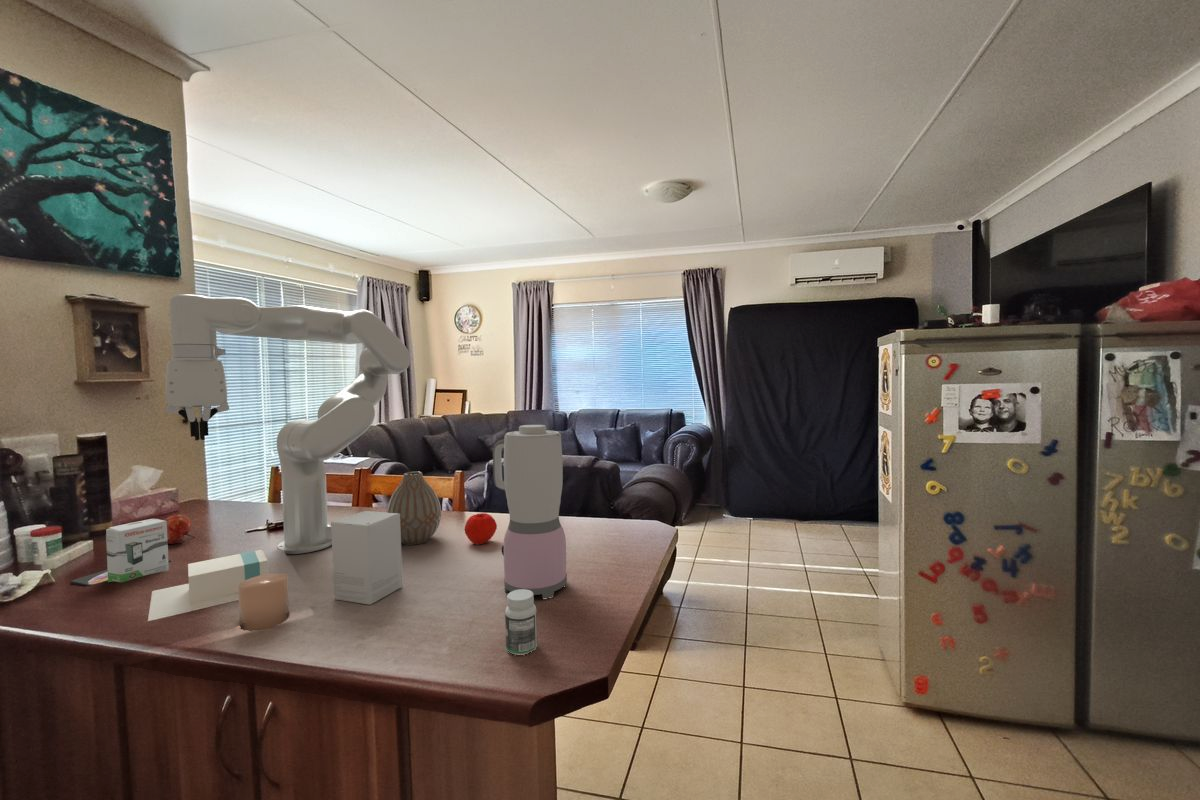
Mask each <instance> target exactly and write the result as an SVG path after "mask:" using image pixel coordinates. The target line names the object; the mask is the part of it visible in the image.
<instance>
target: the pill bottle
mask: <svg viewBox="0 0 1200 800" xmlns="http://www.w3.org/2000/svg"><path fill="white" fill-rule="evenodd" d="M534 596H535V595H534V594H533V592H532V591H530V590H526V589H519V590H514V591H512V592H511V591H509V593H507V595H506V604H507V606H506V607H505V611H504V621H505V622H504V623H505V648H506V651H507V650H508V651H509V652H511V653H513V654H526V653H529V652H531V653H533V652H534V651H536V650H537V648H536V647H538V628H537V627H538V625H537V623H538V621H537V607H536V605H535V604H534V601H535V599H534ZM533 650H534V651H533ZM508 651H507V652H508ZM532 651H533V652H532ZM509 652H508V653H509Z"/></svg>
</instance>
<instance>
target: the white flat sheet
mask: <svg viewBox="0 0 1200 800" xmlns="http://www.w3.org/2000/svg"><path fill="white" fill-rule="evenodd" d="M235 601H239V592H238V593H234V594H230V595H226V596H221V597H217V598H213V599H209V600H204V601H200V602H196V603H192V604H190V595H189V582H188V583H183V584H180V585H175V586H170V587H166V588H160V589H156V590H155V589H154V590H151V595H150V603H149V612H148V618H147V622H153V621H156V620H159V619H160V620H161V619H164V618H168V617H172V616H176V615H181V614H185V613H189V612H193V611H198V610H201V609H207V608H211V607H216V606H219V605H223V604H228V603H233V602H235Z"/></svg>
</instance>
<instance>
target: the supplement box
mask: <svg viewBox="0 0 1200 800" xmlns="http://www.w3.org/2000/svg"><path fill="white" fill-rule="evenodd" d="M330 526H331V534H332V545H331V550H332V551H331V553H332V572H333V573H332V574H333V575H332V576H333V577H332V578H333V597H334V600H336V601H338V600H339V601H344V602H350V603H355V604H356V603H357V604H363V605H372V604H374V603H376V602H378V601H379V600H381V599H383V598H385V597H387V596H389V595H390V594H392V593H394V592H395V591H398V590H400V588H403V565H402V563H403V561H402V560H403V559H402V543H401V529H400V514H398V513H387V511H386V512H385V511H373V510H371V511H370V510H364V511H359V512H357V513H354V514H350V515H348V516H345V517H342V518H338V519H335V520H334V521H331V522H330Z"/></svg>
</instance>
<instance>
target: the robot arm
mask: <svg viewBox="0 0 1200 800" xmlns="http://www.w3.org/2000/svg"><path fill="white" fill-rule="evenodd" d="M169 315H170V316H169V318H170V334H171V335H170V337H171V338H170V339H171V354H172V356H171V357H172V359H171V360H169V359H168V361H167V364H166V365H167V366H166V371H165V373H166V374H165V398H166V407H165V413H166V414H172V415H173V414H174V415H177V416H178V415H179V416H181V417H183V418H184V419H185V420H187V421H188V422H189V427H190V437H192V438H193V437H194V441H196V442H197V441H200V440H201V441H205V440H206V438H205V437H207V436H209V420H210V419H212V418H213V417H214V416H215V415H216V414H218V413H223V412H227V411H229V410H230V405H229V404H228V390H227V389H228V387H227V381H226V380H227V379H226V375H225V369H224V364H223V362H222V360H219V359H218V358H219V357H220V356H226V353H227V352H226V349H225V348H219V347H218V341H217V333H220V334H221V335H222V334H223V335H229V336H242V337H253V338H271V339H282V340H290V341H291V340H292V341H305V342H306V341H308V342H309V341H310V342H320V343H321V342H322V343H331V344H343V345H354V344H355V345H356V344H362V345H363V346H364V347H365V348H364V349H363V350H362V351H361V353H360V355H359V361H358V365H359V367H358V368H359V369H358V374H357V376H356V378H355V379H354V380H353V381H351V382H350V383H349V384H348V385H346V386H345V387H344V388H342V389H341V390H339V391H338V392H336V393H334V394H333V395H332V396H330V397H329V398H328V399H325V401H323V402H322V403H321V405H320V406H319V408H318V410H317V419H316V420H312V419H311V420H310V419H297V420H295V419H294V420H291V421H289V422H287V423H286V424H285V425H283V426H282V427H281V428H280V430H279V431H278V433H277V437H276V449H277V455H278V459H279V465H280V472H281V473H280V474H281V493H282V494H281V495H282V496H281V497H282V515H283V516H282V518H283V519H282V520H283V540H282V541H281V542H280V543H277V546H276V550H282V551H283V553H284V554H285V555H297V554H299V555H300V554H307V553H312V552H313V553H314V552H317V551H321V550H323V549H326V548H329V547H332V534H331V524H330V523H328V521H329V519H328V498H327V496H328V494H327V472H326V471H327V470H326V466H325V461H327V460H330V459H331V458H333V457H335V456H336V455H338V454H339V453H341V452H342V451H343V450H344V449H346V448H347V447H348V446H349V445H351V444H352V443H353V442H355V441H356V440H357V439H358V438H360V436H362V435H363V434H364V433H366V432H367V430H368V429H369V428H370V427H371V426H372V424H373V423H374V419H375V418H376V417H375V416H376V410H375V406H376V405H377V404H378V403H380V402H381V400H382V399H383V397H384V396H385V394H386V391H387V386H388V375H398V374H402V373H403V372H405V371H406V370H408V368H409V366H410V365H411V353H410V352H409V349H408V348H407V346H406V345H405V343H403V341H401V339H399V337H398V336H397V334H396V333H394V331H392V329H391V328H389V326H388V325H387V324H386V323H385V322H384V321H383V320H382V319H381V318H379V316H378V315H376V314H375V313H374V312H372V311H370V310H367V309H358V310H352V311H344V310H337V309H331V308H330V309H329V308H322V307H316V306H307V305H285V306H258V305H257V304H256V303H255V302H254V301H252V300H251V299H250V300H249V299H247V298H244V297H239V296H238V297H236V296H235V297H233V296H231V297H209V296H205V295H201V294H200V295H199V294H186V293H185V294H183V293H182V294H175V295H172V296H171V298H170V299H169ZM199 407H200V408H203V409H202V415H201V417H200V418H199V419H200V421H198V418H197V417H196V416H195V411H194V408H199ZM183 408H184V409H183Z"/></svg>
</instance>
